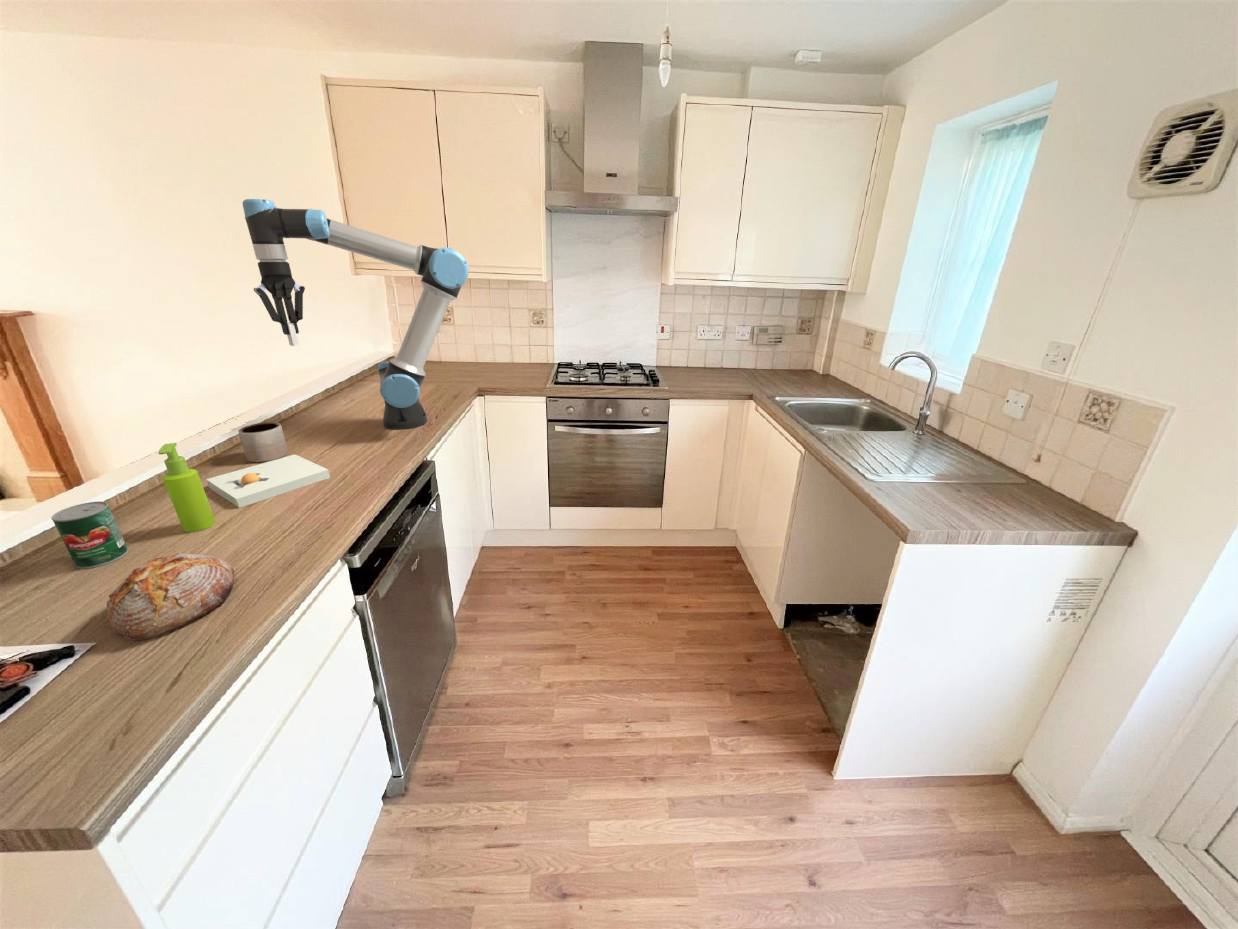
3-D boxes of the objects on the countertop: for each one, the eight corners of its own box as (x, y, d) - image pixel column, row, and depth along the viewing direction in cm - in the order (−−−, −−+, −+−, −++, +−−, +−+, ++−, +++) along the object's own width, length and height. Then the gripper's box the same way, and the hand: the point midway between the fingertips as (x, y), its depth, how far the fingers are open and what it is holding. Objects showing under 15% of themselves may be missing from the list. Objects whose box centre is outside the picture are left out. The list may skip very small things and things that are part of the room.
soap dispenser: (178, 536, 109) (144, 452, 101) (187, 523, 114) (155, 442, 106) (211, 530, 111) (180, 448, 103) (218, 517, 117) (189, 438, 109)
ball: (250, 488, 132) (259, 475, 134) (256, 492, 130) (265, 479, 131) (235, 482, 129) (245, 468, 130) (241, 485, 127) (251, 472, 128)
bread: (88, 658, 77) (54, 608, 73) (160, 583, 95) (136, 539, 91) (206, 634, 81) (181, 585, 77) (255, 566, 98) (236, 523, 94)
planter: (239, 460, 150) (229, 430, 146) (273, 448, 159) (265, 420, 155) (263, 465, 146) (253, 435, 142) (297, 453, 155) (289, 424, 151)
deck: (297, 461, 148) (294, 454, 147) (330, 477, 138) (328, 469, 137) (209, 487, 132) (206, 479, 131) (239, 508, 121) (236, 499, 120)
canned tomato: (82, 573, 96) (57, 524, 92) (70, 561, 100) (45, 513, 96) (134, 554, 102) (113, 507, 98) (121, 543, 106) (100, 498, 102)
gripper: (291, 260, 146) (311, 341, 156) (241, 261, 137) (265, 347, 146) (303, 260, 142) (322, 343, 152) (252, 261, 133) (276, 349, 142)
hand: (294, 345), depth 149 cm, fingers closed
